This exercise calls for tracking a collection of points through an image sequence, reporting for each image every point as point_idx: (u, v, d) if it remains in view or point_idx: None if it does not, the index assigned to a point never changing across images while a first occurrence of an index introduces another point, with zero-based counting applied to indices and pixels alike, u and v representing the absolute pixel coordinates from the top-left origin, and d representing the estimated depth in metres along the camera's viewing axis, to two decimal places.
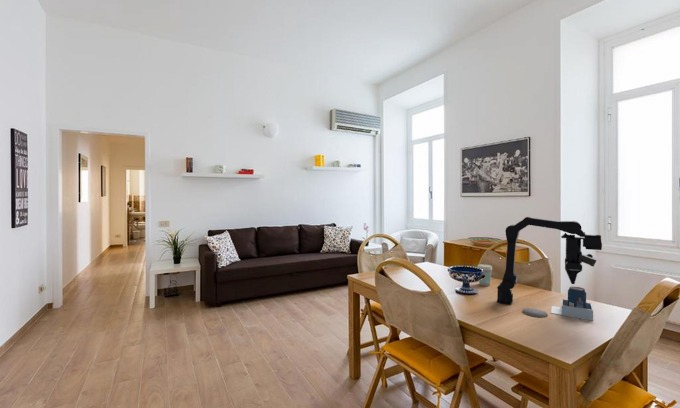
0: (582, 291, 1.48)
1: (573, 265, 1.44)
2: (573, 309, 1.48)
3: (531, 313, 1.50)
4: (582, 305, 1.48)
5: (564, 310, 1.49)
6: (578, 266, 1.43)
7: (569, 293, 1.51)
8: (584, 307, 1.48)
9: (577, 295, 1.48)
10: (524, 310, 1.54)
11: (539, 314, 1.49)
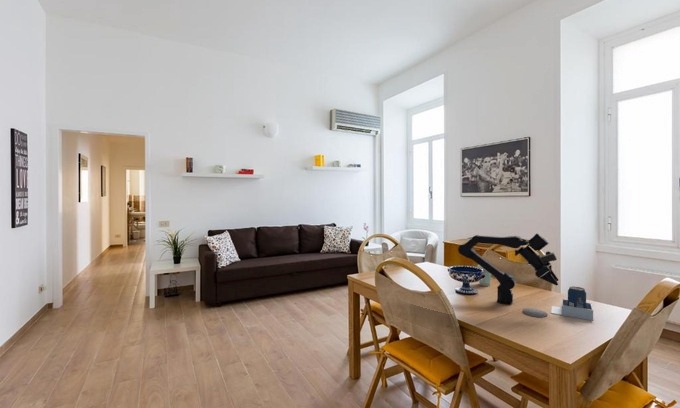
0: (582, 291, 1.48)
1: (540, 270, 1.51)
2: (573, 309, 1.48)
3: (531, 313, 1.50)
4: (582, 305, 1.48)
5: (564, 310, 1.49)
6: (544, 268, 1.50)
7: (569, 293, 1.51)
8: (584, 307, 1.48)
9: (577, 295, 1.48)
10: (524, 310, 1.54)
11: (539, 314, 1.49)
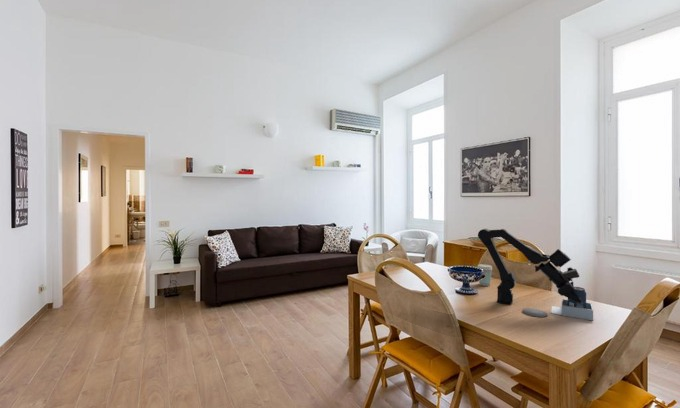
0: (582, 291, 1.48)
1: (563, 288, 1.46)
2: (573, 309, 1.48)
3: (531, 313, 1.50)
4: (582, 305, 1.48)
5: (564, 310, 1.49)
6: (567, 286, 1.46)
7: None
8: (584, 307, 1.48)
9: (577, 295, 1.48)
10: (524, 310, 1.54)
11: (539, 314, 1.49)
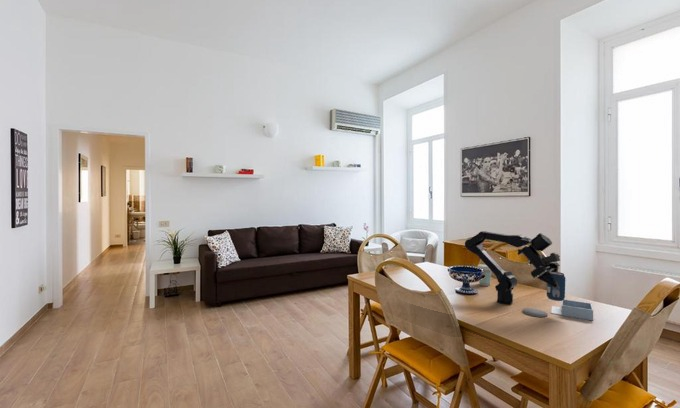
0: (559, 276, 1.47)
1: (535, 270, 1.48)
2: (573, 309, 1.48)
3: (531, 313, 1.50)
4: (558, 290, 1.47)
5: (564, 310, 1.49)
6: (539, 269, 1.47)
7: None
8: (561, 292, 1.47)
9: (553, 279, 1.48)
10: (524, 310, 1.54)
11: (539, 314, 1.49)
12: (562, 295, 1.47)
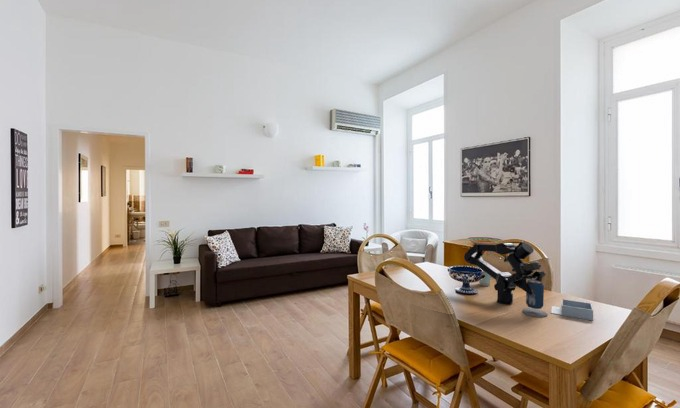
0: (535, 284, 1.49)
1: (510, 277, 1.54)
2: (573, 309, 1.48)
3: (531, 313, 1.50)
4: (533, 297, 1.49)
5: (564, 310, 1.49)
6: (513, 276, 1.52)
7: None
8: (537, 300, 1.49)
9: (529, 287, 1.51)
10: (524, 310, 1.54)
11: (539, 314, 1.49)
12: (537, 303, 1.49)
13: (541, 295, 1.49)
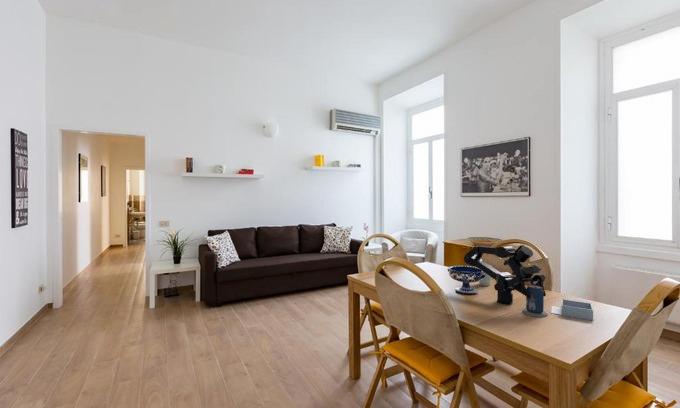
0: (535, 289, 1.49)
1: (510, 280, 1.54)
2: (573, 309, 1.48)
3: (531, 313, 1.50)
4: (533, 302, 1.49)
5: (564, 310, 1.49)
6: (513, 279, 1.52)
7: None
8: (537, 305, 1.49)
9: (529, 292, 1.51)
10: (524, 310, 1.54)
11: (539, 314, 1.49)
12: (538, 308, 1.49)
13: (541, 300, 1.49)
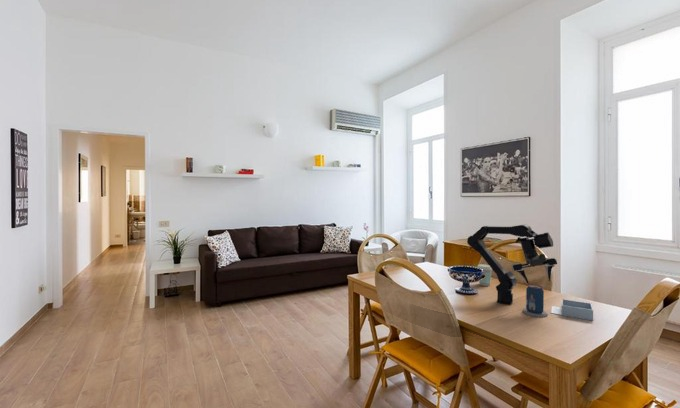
0: (535, 289, 1.49)
1: (512, 266, 1.61)
2: (573, 309, 1.48)
3: (531, 313, 1.50)
4: (533, 302, 1.49)
5: (564, 310, 1.49)
6: (512, 267, 1.60)
7: (526, 290, 1.54)
8: (537, 305, 1.49)
9: (529, 292, 1.51)
10: (524, 310, 1.54)
11: (539, 314, 1.49)
12: (538, 308, 1.49)
13: (541, 300, 1.49)
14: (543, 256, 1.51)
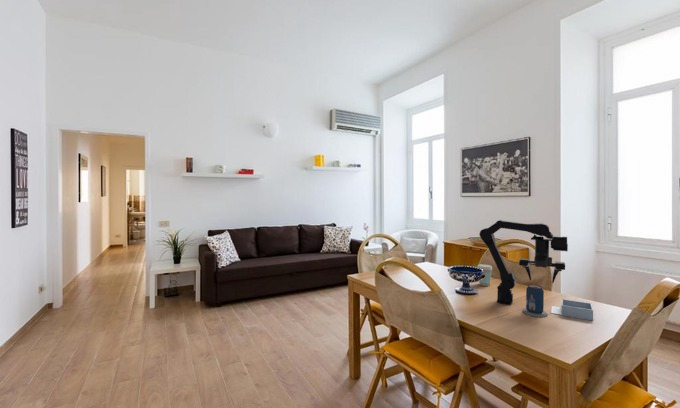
0: (535, 289, 1.49)
1: None
2: (573, 309, 1.48)
3: (531, 313, 1.50)
4: (533, 302, 1.49)
5: (564, 310, 1.49)
6: None
7: (526, 290, 1.54)
8: (537, 305, 1.49)
9: (529, 292, 1.51)
10: (524, 310, 1.54)
11: (539, 314, 1.49)
12: (538, 308, 1.49)
13: (541, 300, 1.49)
14: (550, 259, 1.51)
